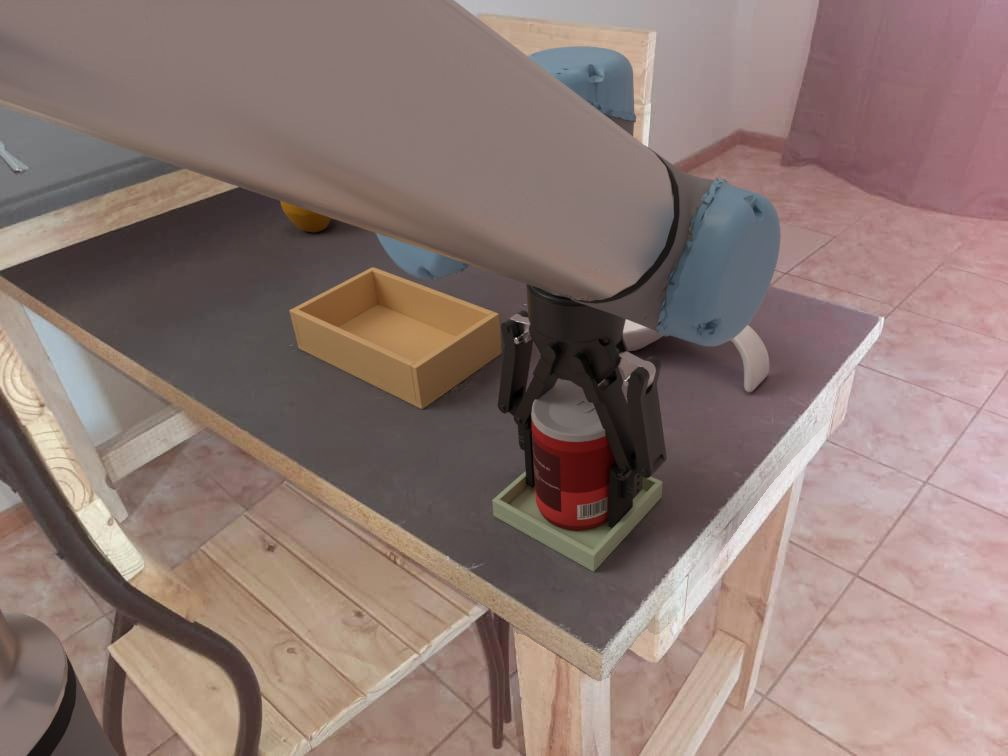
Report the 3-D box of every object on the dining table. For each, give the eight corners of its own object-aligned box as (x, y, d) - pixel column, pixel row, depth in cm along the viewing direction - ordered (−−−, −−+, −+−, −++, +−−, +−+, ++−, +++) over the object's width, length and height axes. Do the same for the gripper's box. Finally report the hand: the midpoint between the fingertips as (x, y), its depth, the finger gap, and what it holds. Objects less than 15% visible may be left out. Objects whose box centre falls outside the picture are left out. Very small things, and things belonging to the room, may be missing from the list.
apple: (288, 221, 130) (277, 170, 125) (340, 215, 131) (330, 163, 126) (286, 242, 123) (273, 189, 118) (340, 235, 124) (329, 182, 119)
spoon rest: (553, 344, 94) (552, 292, 90) (606, 304, 101) (607, 253, 97) (738, 412, 81) (746, 355, 77) (783, 360, 88) (793, 305, 84)
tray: (593, 572, 65) (594, 555, 63) (493, 516, 71) (491, 500, 69) (661, 497, 71) (662, 481, 70) (564, 452, 77) (564, 436, 76)
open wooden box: (501, 353, 93) (499, 313, 90) (422, 409, 84) (416, 368, 81) (379, 303, 105) (372, 266, 101) (298, 348, 96) (288, 310, 93)
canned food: (635, 489, 72) (640, 393, 65) (596, 546, 66) (598, 447, 60) (562, 463, 75) (560, 369, 69) (519, 515, 70) (513, 418, 64)
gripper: (733, 292, 54) (704, 523, 67) (499, 224, 65) (513, 433, 78) (679, 339, 49) (659, 578, 62) (438, 258, 61) (463, 474, 74)
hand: (578, 497), depth 70 cm, fingers open, 8 cm apart
